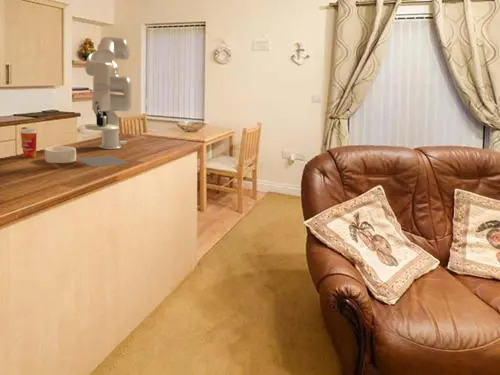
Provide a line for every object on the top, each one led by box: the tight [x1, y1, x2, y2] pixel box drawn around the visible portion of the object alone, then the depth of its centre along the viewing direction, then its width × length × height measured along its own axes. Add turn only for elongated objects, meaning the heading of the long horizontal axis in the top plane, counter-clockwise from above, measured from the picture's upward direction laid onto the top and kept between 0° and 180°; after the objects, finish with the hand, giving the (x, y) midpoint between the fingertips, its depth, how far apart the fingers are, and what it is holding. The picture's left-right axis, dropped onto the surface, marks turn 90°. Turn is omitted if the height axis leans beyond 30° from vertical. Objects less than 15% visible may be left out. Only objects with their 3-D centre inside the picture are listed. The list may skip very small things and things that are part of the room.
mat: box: [76, 155, 130, 168], centre depth 221 cm, size 20×20×1 cm
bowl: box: [43, 145, 77, 164], centre depth 215 cm, size 14×14×6 cm
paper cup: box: [19, 128, 38, 159], centre depth 217 cm, size 8×8×14 cm
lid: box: [85, 116, 120, 132], centre depth 216 cm, size 16×16×6 cm
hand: (102, 124), depth 216 cm, fingers closed on lid, 4 cm apart
